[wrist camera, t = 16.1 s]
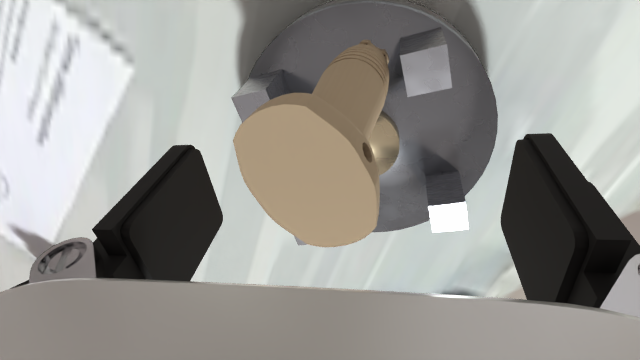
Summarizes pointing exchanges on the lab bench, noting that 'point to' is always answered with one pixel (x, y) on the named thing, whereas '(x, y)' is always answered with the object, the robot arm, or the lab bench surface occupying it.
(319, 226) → the handle
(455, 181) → the round crown base
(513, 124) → the lab bench surface
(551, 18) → the lab bench surface
